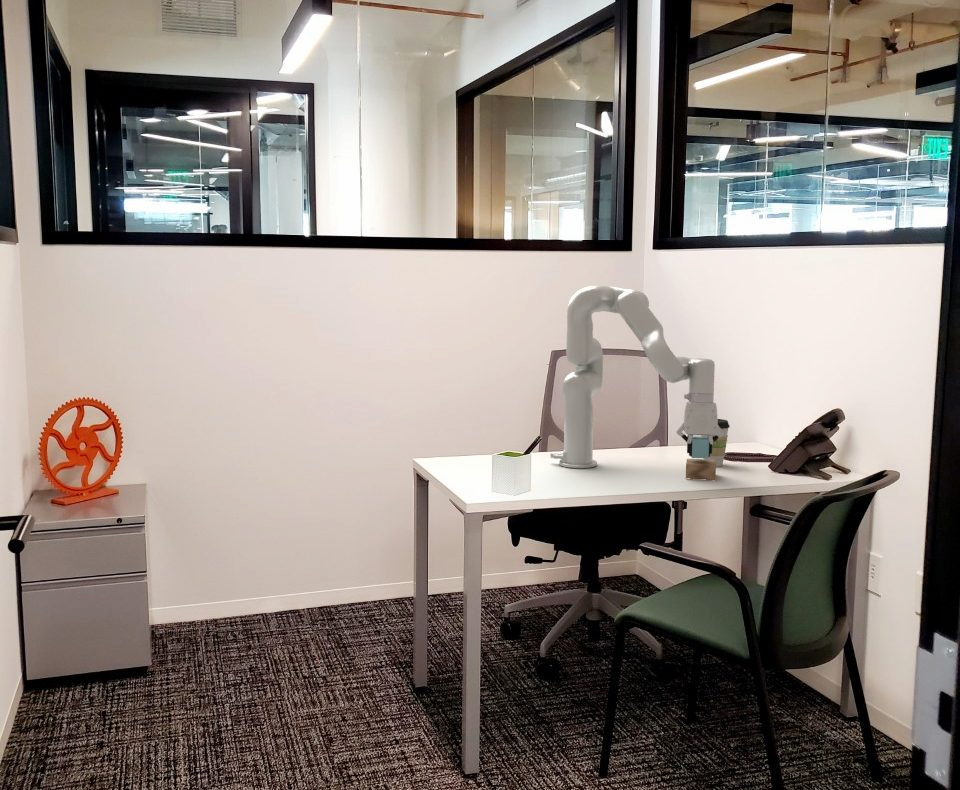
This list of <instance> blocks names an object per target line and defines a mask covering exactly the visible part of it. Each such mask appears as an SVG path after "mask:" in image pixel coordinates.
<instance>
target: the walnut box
mask: <svg viewBox="0 0 960 790" xmlns="http://www.w3.org/2000/svg"><path fill="white" fill-rule="evenodd" d="M716 470H717V467H716V460H706V459H703V458H686V462H685V479H686V478H690V479H689V480H693V479H706V480H705V481H712V480H715V481H716V479H717V477H716V476H717V475H716V473H717V471H716Z"/></svg>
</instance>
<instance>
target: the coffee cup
mask: <svg viewBox="0 0 960 790" xmlns="http://www.w3.org/2000/svg"><path fill="white" fill-rule="evenodd" d="M717 419H718V426H719V427H720V428H721V430H722V431H723V432H724V435H722V436H721V437H719V438H718V439H717V440H716V441H715V442H714V443H713V444H712V454H710V457H709V458H702V459H706V460H716V468H718V467H722V466H723V465H724V459H725V455H726V448H727V443H728V435H729V434H728V432H729V428H730V424H729V420H727V419H721V418H717ZM717 433H718V431H717ZM715 435H716V434H715ZM713 436H714V435H712V437H713ZM700 437H707V435H700Z"/></svg>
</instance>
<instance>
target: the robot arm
mask: <svg viewBox="0 0 960 790" xmlns="http://www.w3.org/2000/svg"><path fill="white" fill-rule="evenodd" d="M649 306H650V300H649V299H648V296H647V295H646V294H645V293H644V292H642V291H641V290H640V291H639V290H634V289H628V288H627V289H626V288H621V287H615V286H610V285H609V286H608V285H590V286H586V287H583V288H582V289H579V290H578V291H577V292H576V293H574V294H573V296H571V299H569V302H568V305H567V309H566V312H567V313H566V314H567V315H566V347H565V348H566V350H565V354H566V359H567V362H568V364H570V365H571V366H574V367H575V370H574V371H572V372H570V373H568V375H567V376H566V377H565V378H564V380H563V383H562V396H563V397H562V398H563V409H564V410H563V411H564V412H563V416H564V417H563V418H564V419H563V420H564V421H563V422H564V423H563V428H564V429H563V430H564V431H563V432H564V433H563V450H562V451H559V452H556V451H555V452H553V451H551V452H550V459H554V460H555V459H557V460H558V459H560V460H559V462H558V464H559V466H561V467H565V468H572V469H588V468H589V469H590V468H594V467H596V466H597V465H598V461H597V460H596V459H593V457H594V455H593V454H594V453H593V450H594V449H593V448H594V447H593V446H594V445H593V444H594V443H593V442H594V440H593V439H594V437H593V436H594V406H593V401H592V397H593V396H595V395H596V394H598V393H599V392H600V391H601V389H602V385H603V375H604V373H603V369H604V367H603V366H604V365H603V362H604V351H603V346H602V345H601V343H600V342H599V341H598V339H596V338H595V337H593V336H594V333H593V332H594V323H593V317H592V315H593V314H594V313H600V312H607V313H613V314H619V315H620V317H621V318H622V319H623V321H624V322H625V323H626V324H627V326H628V327H629V329H630V330H631V331H632V333H633V334H634V335H635V337H636V338H637V339H638V341H639V342H640V344H641V347H642V349H643V351H644V353H645V356H646V357H647V359H648V361H649V363H650V364H651V365H652V367H653V368H654V369H655V371H656V372H657V373H658V375H660V377H661V378H662V380H665V382H667V383H670V384H676V383H679V382H681V381H686V380H689V383H688V384H689V385H688V392H687V394H684V395H683V398H684V399H685V400H688V401H687V402H686V404H685V409H684V413H683V414H684V415H683V423H682V424H681V425H680V427H678V428H677V430H676V434H677V435H678V436H679V437H681V438H682V439H683V440H684V441H685V442H686V443H687V444H686V453H687V454H688V456H689V457H691V456H692V438H693V436H701V435H707V437H708V439H709V457H710V454H712V444H713V443H714V442H715V441H716V440H717V439H718V438H719V437H721V436H722V435H724V432H723V431H722V430H721V428H720V427H719V426H718V419H719V418H718V409H717V403H716V402H714V395H715V394H714V393H715V368H716V366H715V365H716V364H715V361H714V360H713V359H709V358H689V357H685V356H677V357H676V355H675V354H674V352H673V351H672V350H671V348H670V347H669V345H668V344H667V341H666V339H665V336H664V335H665V334H664V328H663V324H661V322H660V320H659V319H658V318H657V316H655V314H654V313H653V312H652V310H651V309H650V307H649ZM717 431H718V433H717ZM683 432H684V433H685V434H684V433H683ZM715 434H716V435H715ZM712 435H714V436H713V437H712Z"/></svg>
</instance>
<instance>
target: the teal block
mask: <svg viewBox="0 0 960 790" xmlns="http://www.w3.org/2000/svg"><path fill="white" fill-rule="evenodd" d="M690 457H691V459H703V458H709V439H708V437H701V436H695V435H693V438H692V456H690Z"/></svg>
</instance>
